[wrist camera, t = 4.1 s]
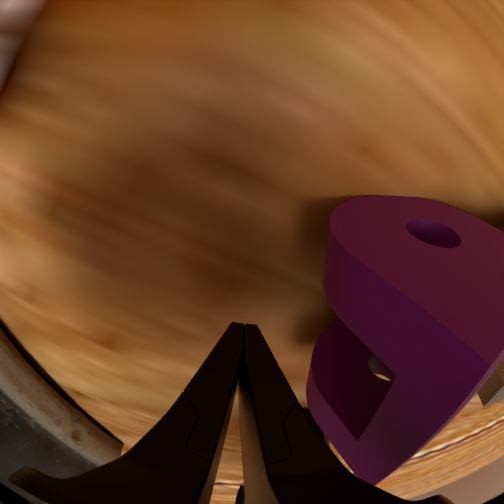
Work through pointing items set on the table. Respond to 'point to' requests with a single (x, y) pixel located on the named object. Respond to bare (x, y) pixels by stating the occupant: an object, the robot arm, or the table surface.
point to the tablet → (43, 426)
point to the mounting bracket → (404, 326)
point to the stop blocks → (493, 386)
